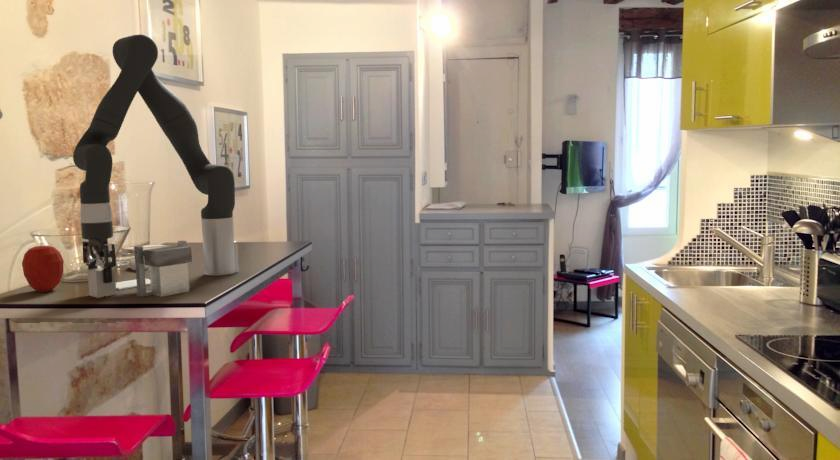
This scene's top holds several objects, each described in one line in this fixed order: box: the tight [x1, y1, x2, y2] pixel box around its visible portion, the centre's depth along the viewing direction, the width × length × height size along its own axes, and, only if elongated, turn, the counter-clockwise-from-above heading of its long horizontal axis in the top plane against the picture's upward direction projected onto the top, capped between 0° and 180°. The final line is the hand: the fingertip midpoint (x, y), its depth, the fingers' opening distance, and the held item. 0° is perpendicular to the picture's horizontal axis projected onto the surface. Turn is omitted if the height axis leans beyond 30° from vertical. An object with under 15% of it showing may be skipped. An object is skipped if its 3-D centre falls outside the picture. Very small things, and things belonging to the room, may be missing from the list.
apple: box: [21, 244, 64, 293], centre depth 193 cm, size 10×10×14 cm
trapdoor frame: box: [133, 240, 192, 298], centre depth 186 cm, size 8×14×13 cm, turn 138°
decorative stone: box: [128, 257, 150, 272], centre depth 228 cm, size 6×16×3 cm, turn 27°
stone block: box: [86, 267, 117, 299], centre depth 186 cm, size 5×5×7 cm
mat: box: [116, 278, 151, 291], centre depth 200 cm, size 12×10×1 cm
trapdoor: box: [121, 243, 193, 267], centre depth 189 cm, size 19×11×4 cm, turn 48°
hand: (100, 281), depth 185 cm, fingers open, 8 cm apart
